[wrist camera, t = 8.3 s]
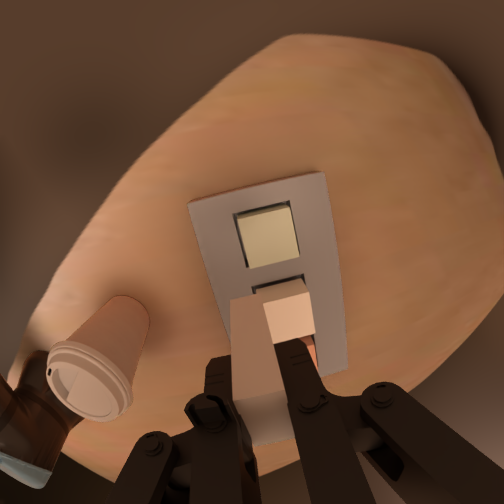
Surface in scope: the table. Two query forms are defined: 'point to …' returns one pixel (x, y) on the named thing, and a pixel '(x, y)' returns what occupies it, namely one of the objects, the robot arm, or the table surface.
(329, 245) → the keypad board
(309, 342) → the terracotta key
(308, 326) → the ivory key
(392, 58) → the table surface
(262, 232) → the sage key
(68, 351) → the coffee cup
